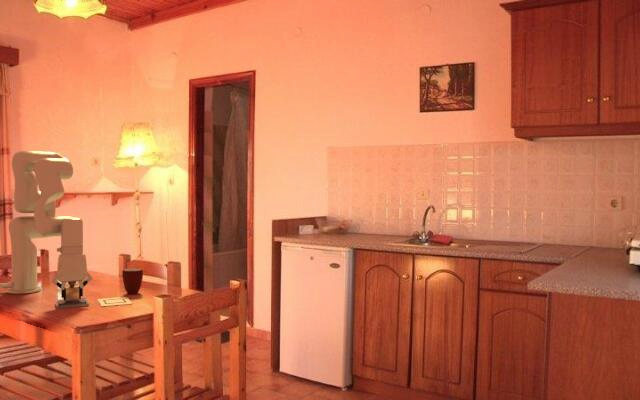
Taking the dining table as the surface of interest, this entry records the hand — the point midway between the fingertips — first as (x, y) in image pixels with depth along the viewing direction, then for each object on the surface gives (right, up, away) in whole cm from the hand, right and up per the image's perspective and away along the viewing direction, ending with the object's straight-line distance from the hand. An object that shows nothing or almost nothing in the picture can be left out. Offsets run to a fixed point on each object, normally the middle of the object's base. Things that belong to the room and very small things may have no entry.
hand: (72, 298), depth 211 cm
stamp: (0, -1, 0) cm, 1 cm away
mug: (+14, -2, +25) cm, 28 cm away
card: (+14, -2, +6) cm, 15 cm away
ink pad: (0, -2, 0) cm, 2 cm away
